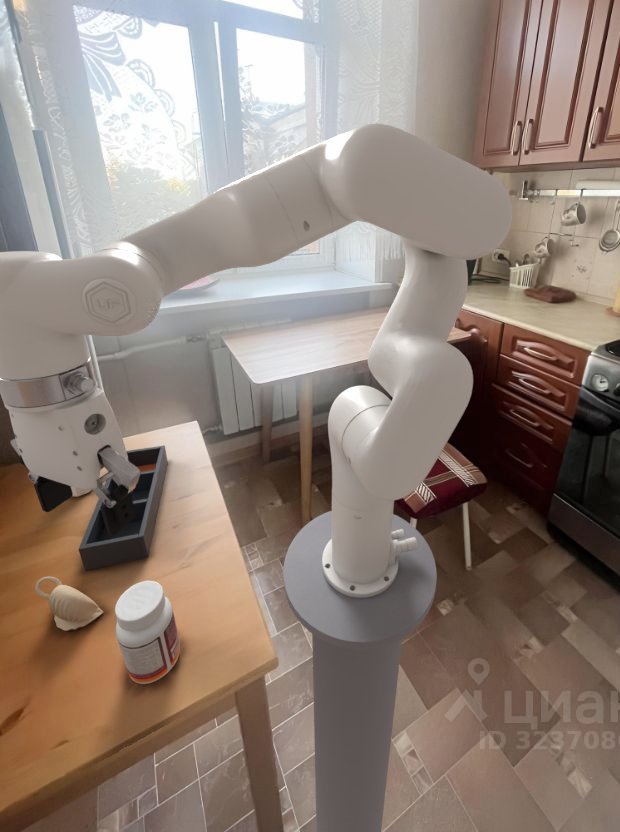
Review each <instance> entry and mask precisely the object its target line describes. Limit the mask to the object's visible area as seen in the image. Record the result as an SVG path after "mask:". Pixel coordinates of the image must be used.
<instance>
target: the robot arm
mask: <svg viewBox="0 0 620 832" xmlns="http://www.w3.org/2000/svg"><path fill="white" fill-rule="evenodd" d="M511 199H512V198H511V196H510V194H509V192H508V191H507V189H506V187H505V186H504V184H503V183H502V182H501V181H500V180H499V179H497V178H496V177H495V176H494V175H492V174H491V173H489V172H488V171H485V170H484V169H482V168H480V167H477V166H475V165H473V164H472V163H470V162H468V161H465V160H464V159H461V158H459V157H457V156H456V155H454V154H452V153H449V152H447V151H446V150H444V149H443V148H441V147H439V146H436V145H434V144H432V143H431V142H428V141H427V140H424V139H422V138H421V137H419V136H417V135H414V134H412V133H410V132H408V131H405V130H402V129H400V128H399V127H396V126H393V125H389V124H384V123H377V122H375V123H367V124H364V125H361V126H359V127H356V128H353V129H350V130H349V131H345V132H342V133H340V134H337V135H335V136H333V137H331V138H329V139H326V140H323V141H321V142H319V143H317V144H315V145H313V146H310V147H308V148H306V149H304V150H301V151H299V152H298V153H294V154H293V155H291V156H289V157H286V158H284V159H282V160H280V161H278V162H275V163H273V164H271V165H269V166H267V167H265V168H262V169H260V170H258V171H256V172H253V173H251V174H249V175H247V176H245V177H242V178H240V179H238V180H236V181H233V182H231V183H229V184H227V185H225V186H223V187H220V188H219V189H217V190H215V191H213V192H211V193H210V194H209V195H207V196H206V197H205V198H203V199H202V200H199V201H198V202H197V203H195V204H193V205H191V206H189V207H187V208H185V209H182V210H180V211H178V212H177V213H174V214H173V215H169V216H167V217H165V218H164V219H161V220H159V221H157V222H154V223H152V224H151V225H148V226H146V227H144V228H142V229H139V230H137V231H134V232H132V233H131V234H128V235H126V236H124V237H121V238H120V239H119V238H118V240H115V241H112V242H110V243H108V244H106V245H105V246H103V247H100V248H99V249H97V250H96V251H94V252H93V253H90V254H86V255H83V256H80V257H74V258H65V259H63V258H62V257H60V256H59V255H56V254H55V253H51V252H48V251H37V250H36V251H34V250H14V251H0V396H1V399H2V402H3V405H4V407H5V409H6V410H7V411H8V414H9V419H10V422H11V428H12V431H13V435H14V438H13V439H11V440H10V445H11V446H12V448H13V449H14V451H15V453H17V455H18V456H19V463H20V465H22V466H24V467H25V468H26V470H27V471H28V474H27V477H28V480H29V481H30V482H31V483H34V484H33V487H34V490H35V494H36V497H37V499H38V501H39V504H40V507H41V510H42V511H43V512H45V513H50V512H52V511H53V510H55V509H57V507H59V506H60V505H62V504H63V503H64V502H66V501H68V500H69V499H71V498H72V497H73V496H72V495H73V493H72V489H71V486H72V487H76V488H79V489H85V490H91V491H92V492H93V493H94V494H95V495H96V496H97V497H98V499H99V498H100V500H101V501H102V502H103V503H104V504H103V505H102V506H101V507H100V508H101V512H102V515H103V519H104V522H105V526H106V529H107V533H108V534H109V535H112V536H113V535H115V534H116V533H117V532H119V531H120V530H121V529H122V528H123V527H124V526H125V525H127V524H128V523H129V522H130V521H131V520H132V519H133V518H134V517H135V515H136V513H135V509H134V505H133V501H132V496H131V492H132V491H133V490H134V489H135V488H136V487H137V486H138V480H139V477H140V473H141V472H140V470H139V469H138V468H137V467H136V466H134V465H133V464H132V463H130V462H129V461H128V456H127V452H126V451H127V448H126V445H125V442H124V438H123V435H122V432H121V429H120V426H119V423H118V419H117V417H116V414H115V412H114V410H113V408H112V406H111V404H110V402H109V400H108V398H107V396H106V394H105V392H104V390H102V388H98V386H99V383H98V379H97V376H96V372H95V368H94V364H93V360H92V356H91V351H90V347H89V344H88V339H87V336H98V337H100V336H101V337H122V336H128V335H132V334H135V333H137V332H140V331H142V330H144V329H145V328H147V327H148V326H149V325H151V323H152V322H153V321H154V320H155V319H156V317H157V315H158V313H159V311H160V307H161V304H162V300H163V298H165V297H167V296H168V295H170V294H173V293H174V292H176V291H178V290H180V289H183V288H185V287H186V286H189V285H191V284H192V283H195V282H197V281H200V280H201V279H203V278H206V277H208V276H210V275H214V274H215V273H219V272H223V271H227V270H230V269H238V268H257V267H262V266H265V265H266V266H267V265H270V264H272V263H275V262H277V261H280V260H281V259H283V258H286V257H288V256H290V255H292V254H293V253H295V252H297V251H298V250H300V249H302V248H304V247H307V246H308V245H310V244H312V243H315V242H317V241H318V240H321V239H322V238H325V237H326V236H328V235H331V234H333V233H335V232H337V231H339V230H341V229H343V228H345V227H346V226H347V227H348V226H349V225H351V224H354V223H355V222H361V223H367V224H370V225H372V226H373V225H374V226H376V227H378V228H380V229H383V230H385V231H388V232H390V233H393V234H395V235H397V236H399V239H400V242H401V245H402V247H403V252H404V259H405V265H404V266H405V267H404V274H403V278H402V281H401V285H399V288H398V291H397V293H396V296H395V298H394V300H393V302H392V303H391V306H390V308H389V310H388V312H387V314H386V316H385V317H384V319H383V322H382V323H381V326H380V328H379V329H378V331H377V334H376V335H375V337H374V339H373V341H372V344H371V346H370V348H369V350H368V354H367V366H368V369H369V371H370V373H371V375H372V376H373V378H374V379H375V380H376V382H378V383H379V385H380V386H381V387H382V388H383V389H384V390H385V391H386V393H388V394H389V396H390V397H391V398H392V399H390V398H389V397H388V396H387V395H386V394H384V393H383V392H382V391H381V390H379V389H377V388H375V387H372V386H370V385H355V386H350V387H348V388H346V389H345V390H343V391H342V392H340V393H339V394H338V395H337V397H336V398H335V399H334V401H333V402H332V405H331V406H330V409H329V413H328V419H327V431H328V441H329V451H330V459H331V511H332V539H331V540H330V541H329V542H328V544H327V545H326V547H325V549H324V552H323V556H322V568H323V573H324V575H325V577H326V579H327V581H328V582H329V584H330V585H331V586H332V587H333V588H334V589H336V590H337V591H339V592H340V593H342V594H345V595H347V596H350V597H356V598H367V597H372V596H375V595H378V594H380V593H382V592H383V591H385V590H386V589H387V588H388V587H389V586H390V585H391V584H392V583H393V581H394V580H395V578H396V575H397V572H398V556H400V555H401V553H402V552H406V551H407V552H409V551H413V550H417V549H418V543H417V540H416V538H415V537H412V538H408V539H404V540H402V541H397V540H394V539H400V538H404V531H403V529H400V530H396V531H393V532H392V520H393V514H394V508H395V501H399V500H400V499H403V498H406V497H407V496H409V495H410V494H412V493H413V492H414V491H415V490H416V489H418V488H419V486H421V485H422V483H423V482H424V480H425V479H426V478H427V477H428V475H429V473H430V472H431V471H432V469H433V467H434V466H435V464H436V462H437V461H438V458H439V457H440V456H441V454H442V452H443V450H444V448H445V447H446V445H447V443H448V441H449V440H450V438H451V437H452V435H453V433H454V431H455V429H456V427H457V426H458V424H459V422H460V420H461V419H462V417H463V415H464V413H465V411H466V409H467V407H468V405H469V403H470V400H471V397H472V393H473V387H474V374H473V369H472V365H471V363H470V361H469V360H468V358H467V357H466V356H465V354H463V352H462V351H461V350H460V349H458V348H457V347H455V346H454V345H452V344H451V343H449V342H448V339H449V337H450V334H451V332H452V330H453V328H454V326H455V323H456V322H457V319H458V317H459V315H460V313H461V310H462V308H463V306H464V304H465V300H466V297H467V292H468V284H469V277H468V276H469V275H468V265H467V261H473V260H478V259H481V258H484V257H487V256H488V255H490V254H492V253H494V252H495V251H496V250H497V249H498V248H499V247H500V246H501V245H502V244H503V243H504V241H505V240H506V238H507V236H508V234H509V233H510V230H511V226H512V224H513V217H514V213H513V211H514V210H513V204H512V203H513V202H512V201H511ZM103 469H105V470H106V471H107V472H105V474H103V475H102V476H101V477H100V475H101V471H102V470H103ZM109 478H112V479H113V480H114V481H115V482H116V484H117V485H118V487H117V488H116V489H115V490H114V491H113V492H111V493H110V492H109V491H108V490H107V489H106V488H105V486H104V485H105V483H106V480H108V479H109Z"/></svg>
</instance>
